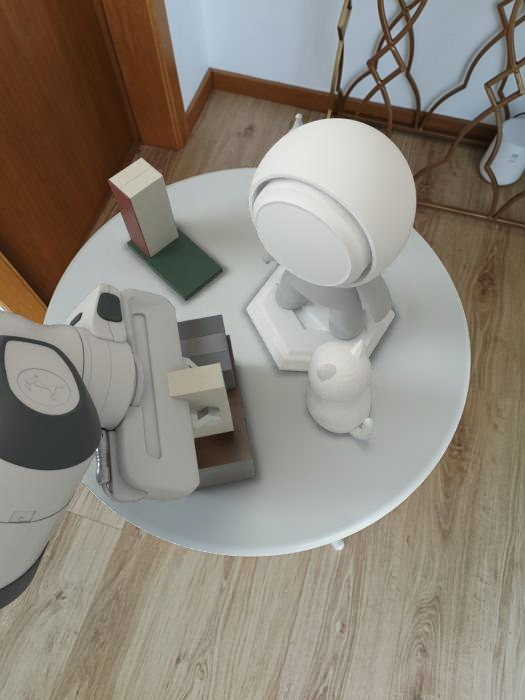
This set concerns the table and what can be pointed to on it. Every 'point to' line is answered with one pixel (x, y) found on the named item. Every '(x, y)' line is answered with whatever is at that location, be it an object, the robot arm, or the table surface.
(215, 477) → the grey stand
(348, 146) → the white toy figurine
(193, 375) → the white book
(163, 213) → the green book holder
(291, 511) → the table surface
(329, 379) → the cat figurine
